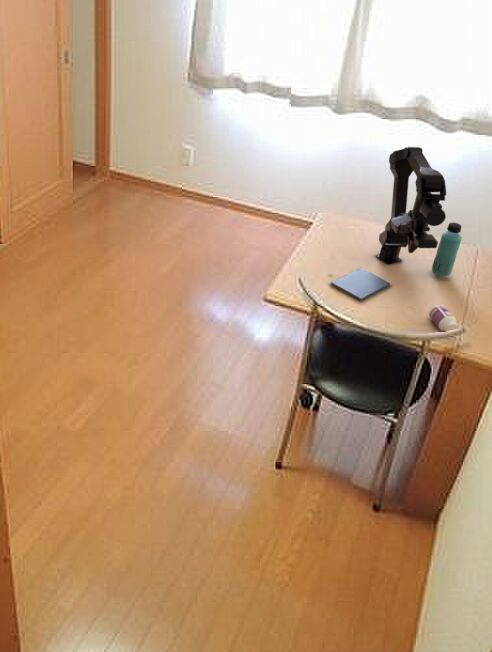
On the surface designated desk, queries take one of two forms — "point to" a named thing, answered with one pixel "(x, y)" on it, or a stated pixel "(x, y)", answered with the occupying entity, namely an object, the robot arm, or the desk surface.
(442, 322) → the pill bottle
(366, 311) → the desk surface
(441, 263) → the beverage bottle
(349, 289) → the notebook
